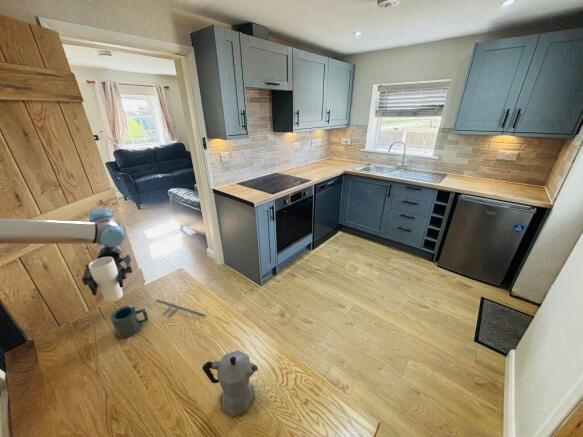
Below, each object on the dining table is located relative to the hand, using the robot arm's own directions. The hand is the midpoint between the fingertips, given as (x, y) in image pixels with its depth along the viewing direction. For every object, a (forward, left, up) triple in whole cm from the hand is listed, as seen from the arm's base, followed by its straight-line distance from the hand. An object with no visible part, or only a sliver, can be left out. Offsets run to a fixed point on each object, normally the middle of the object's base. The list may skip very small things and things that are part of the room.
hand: (107, 287), depth 76 cm
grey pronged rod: (-1, -7, -24) cm, 25 cm away
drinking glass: (0, +5, -8) cm, 10 cm away
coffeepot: (+26, -39, -25) cm, 53 cm away
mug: (+2, +6, -25) cm, 26 cm away
